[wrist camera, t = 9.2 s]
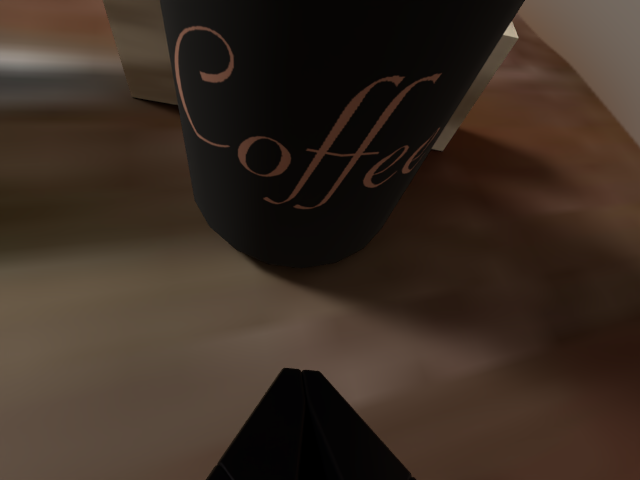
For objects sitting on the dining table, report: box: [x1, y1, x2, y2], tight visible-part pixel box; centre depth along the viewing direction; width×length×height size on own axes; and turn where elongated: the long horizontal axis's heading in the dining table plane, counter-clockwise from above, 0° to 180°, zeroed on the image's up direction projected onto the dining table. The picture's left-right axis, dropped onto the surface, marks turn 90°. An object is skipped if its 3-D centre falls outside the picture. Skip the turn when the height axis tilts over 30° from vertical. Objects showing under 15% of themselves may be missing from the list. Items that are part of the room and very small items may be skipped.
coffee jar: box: [160, 0, 525, 268], centre depth 13 cm, size 11×11×18 cm
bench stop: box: [103, 0, 518, 151], centre depth 20 cm, size 3×20×11 cm, turn 87°
